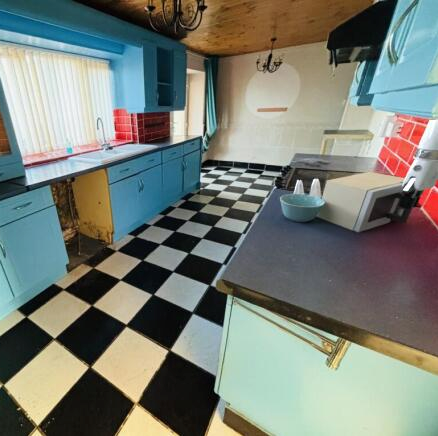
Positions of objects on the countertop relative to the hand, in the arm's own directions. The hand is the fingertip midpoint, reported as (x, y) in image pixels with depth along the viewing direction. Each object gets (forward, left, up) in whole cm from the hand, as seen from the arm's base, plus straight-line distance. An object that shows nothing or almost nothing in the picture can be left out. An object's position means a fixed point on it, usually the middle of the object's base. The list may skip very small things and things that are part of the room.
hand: (407, 206), depth 85 cm
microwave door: (+2, +7, -9) cm, 11 cm away
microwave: (+11, +3, -9) cm, 15 cm away
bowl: (+22, +24, -9) cm, 34 cm away
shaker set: (+35, +2, -9) cm, 37 cm away
